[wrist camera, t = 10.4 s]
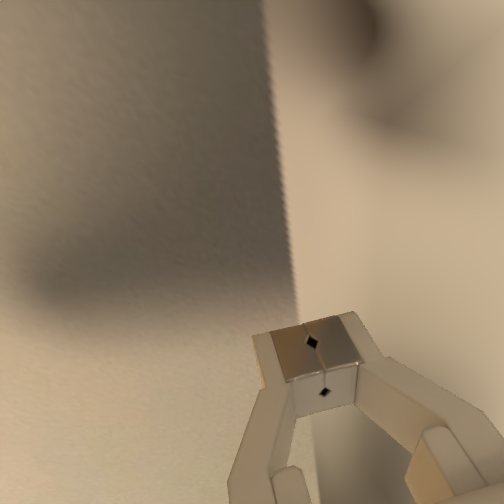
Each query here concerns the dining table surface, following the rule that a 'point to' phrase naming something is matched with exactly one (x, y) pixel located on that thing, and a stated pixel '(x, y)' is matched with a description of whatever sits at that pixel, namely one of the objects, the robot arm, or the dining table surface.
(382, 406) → the robot arm
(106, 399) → the dining table surface
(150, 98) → the dining table surface
